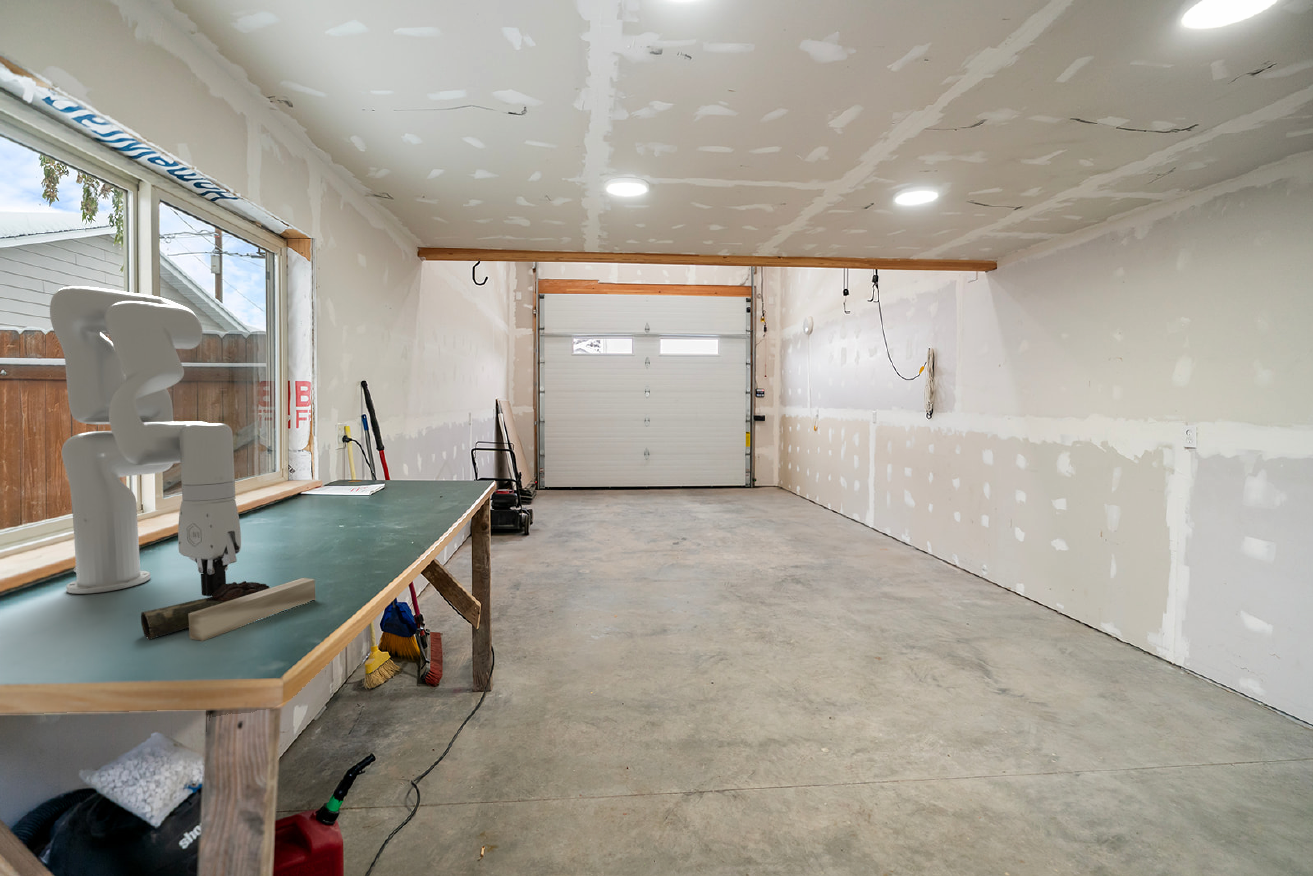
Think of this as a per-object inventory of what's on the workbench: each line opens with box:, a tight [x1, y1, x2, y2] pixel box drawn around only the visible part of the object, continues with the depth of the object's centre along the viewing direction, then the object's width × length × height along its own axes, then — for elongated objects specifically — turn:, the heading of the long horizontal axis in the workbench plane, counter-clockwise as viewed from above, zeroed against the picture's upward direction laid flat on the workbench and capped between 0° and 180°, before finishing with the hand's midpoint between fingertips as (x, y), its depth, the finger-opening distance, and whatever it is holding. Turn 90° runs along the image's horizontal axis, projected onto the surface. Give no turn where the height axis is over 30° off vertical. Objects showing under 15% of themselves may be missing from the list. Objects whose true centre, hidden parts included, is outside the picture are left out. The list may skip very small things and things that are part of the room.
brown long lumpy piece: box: [140, 580, 270, 640], centre depth 100 cm, size 18×7×6 cm, turn 142°
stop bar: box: [188, 577, 316, 642], centre depth 101 cm, size 3×20×4 cm, turn 160°
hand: (214, 593), depth 105 cm, fingers closed
